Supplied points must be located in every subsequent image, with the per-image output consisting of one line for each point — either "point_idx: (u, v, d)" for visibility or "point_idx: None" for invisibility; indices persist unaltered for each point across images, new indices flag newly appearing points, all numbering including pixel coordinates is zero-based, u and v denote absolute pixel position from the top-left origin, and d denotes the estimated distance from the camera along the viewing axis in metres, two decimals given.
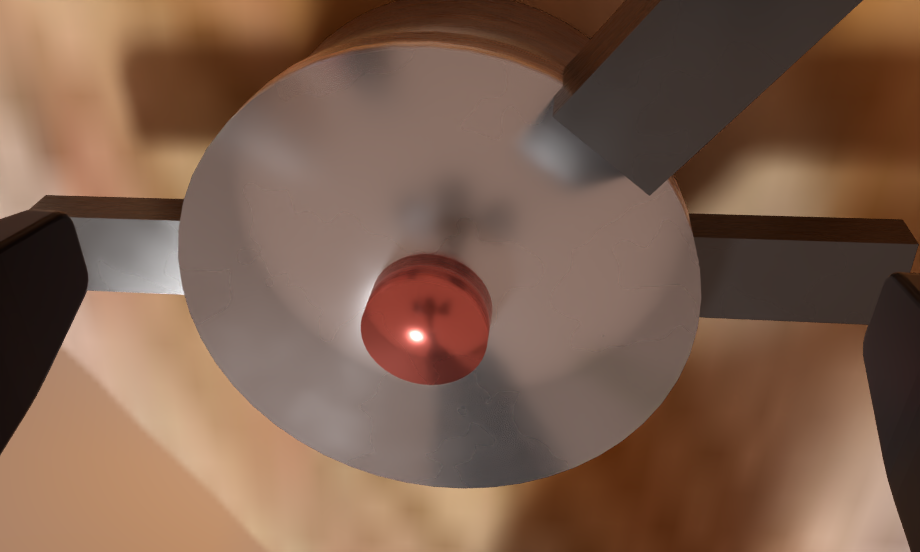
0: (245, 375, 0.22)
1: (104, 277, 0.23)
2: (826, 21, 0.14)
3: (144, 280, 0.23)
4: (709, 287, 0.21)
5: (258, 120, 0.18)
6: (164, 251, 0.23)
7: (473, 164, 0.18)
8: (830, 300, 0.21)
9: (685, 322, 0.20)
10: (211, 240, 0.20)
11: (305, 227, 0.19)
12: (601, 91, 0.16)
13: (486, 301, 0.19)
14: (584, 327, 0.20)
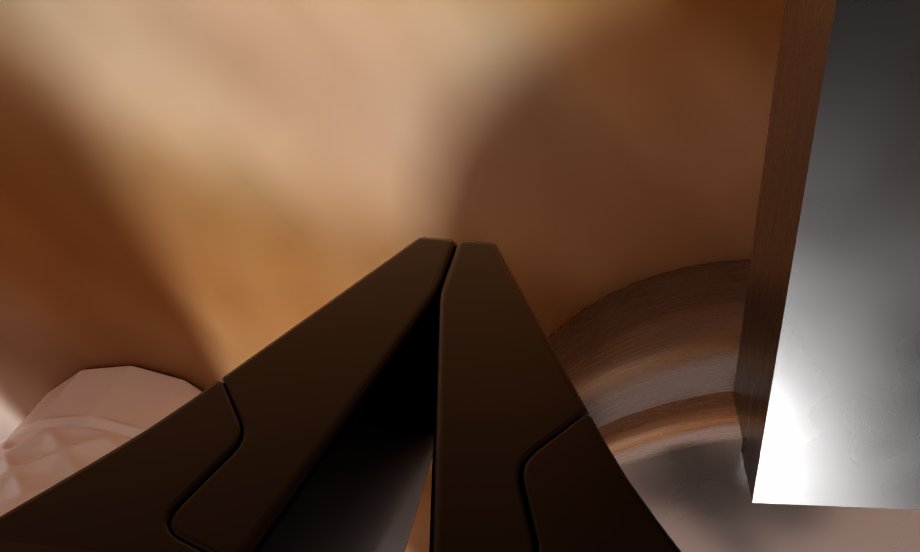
0: None
1: None
2: None
3: None
4: None
5: None
6: None
7: (710, 542, 0.15)
8: None
9: None
10: None
11: None
12: (784, 457, 0.12)
13: None
14: None
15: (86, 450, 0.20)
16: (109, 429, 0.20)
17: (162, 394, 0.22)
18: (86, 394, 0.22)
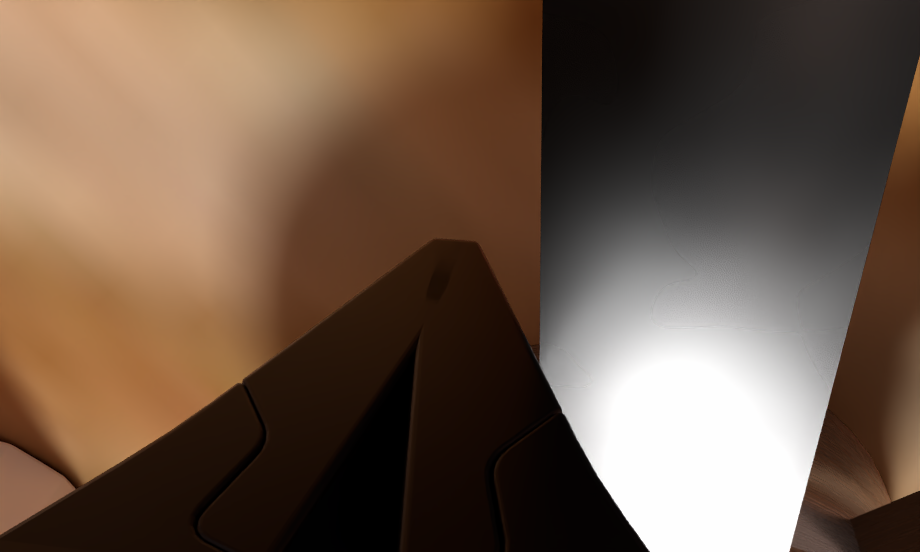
0: None
1: None
2: (802, 426, 0.08)
3: None
4: None
5: None
6: None
7: None
8: None
9: None
10: None
11: None
12: None
13: None
14: None
15: None
16: None
17: None
18: None
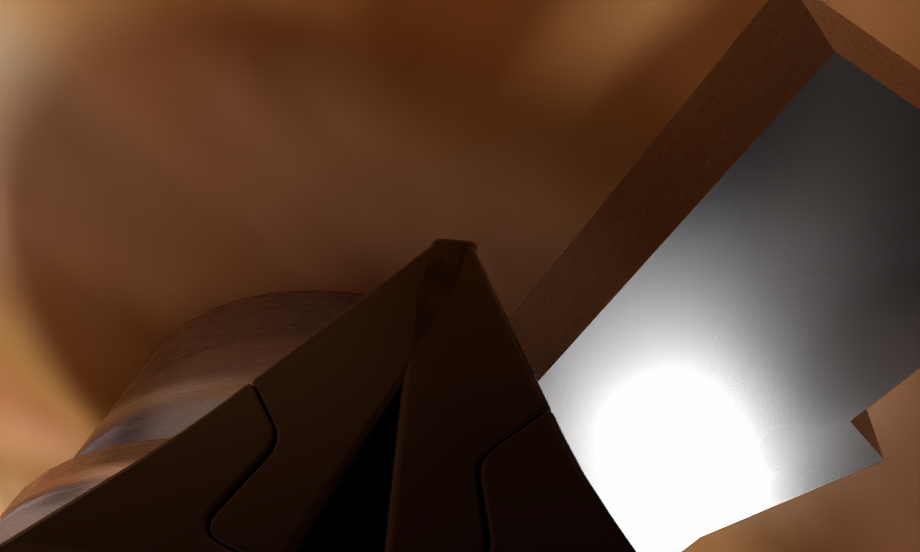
0: None
1: None
2: (697, 523, 0.09)
3: None
4: None
5: None
6: None
7: None
8: None
9: None
10: None
11: None
12: None
13: None
14: None
15: None
16: None
17: None
18: None
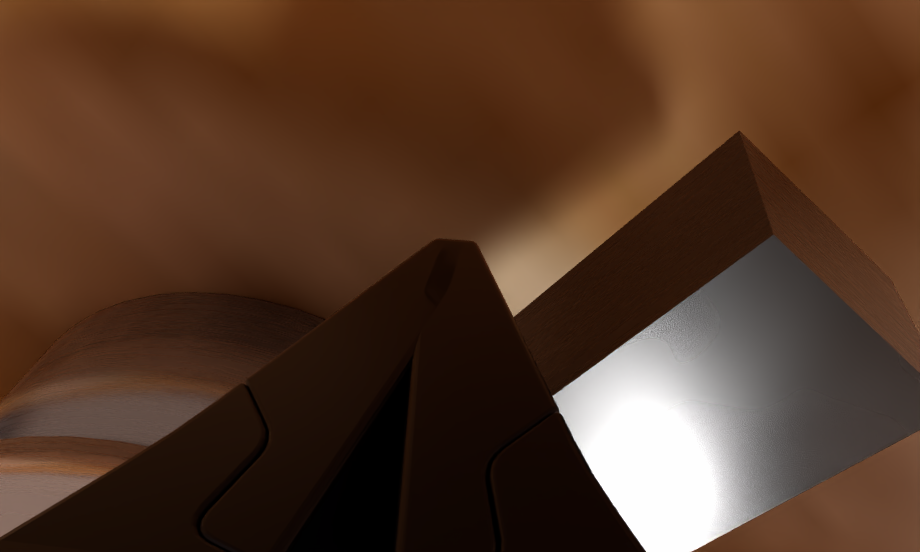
0: None
1: None
2: None
3: None
4: None
5: None
6: None
7: None
8: None
9: None
10: None
11: None
12: None
13: None
14: None
15: None
16: None
17: None
18: None
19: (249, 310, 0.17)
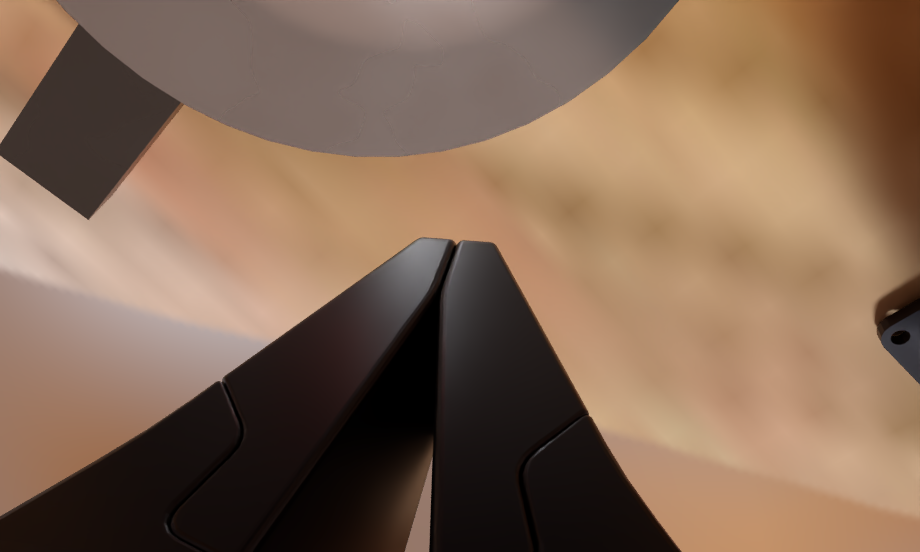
0: None
1: (108, 156, 0.18)
2: None
3: (137, 123, 0.18)
4: None
5: None
6: (116, 64, 0.17)
7: None
8: None
9: None
10: None
11: None
12: None
13: None
14: None
15: None
16: None
17: None
18: None
19: None
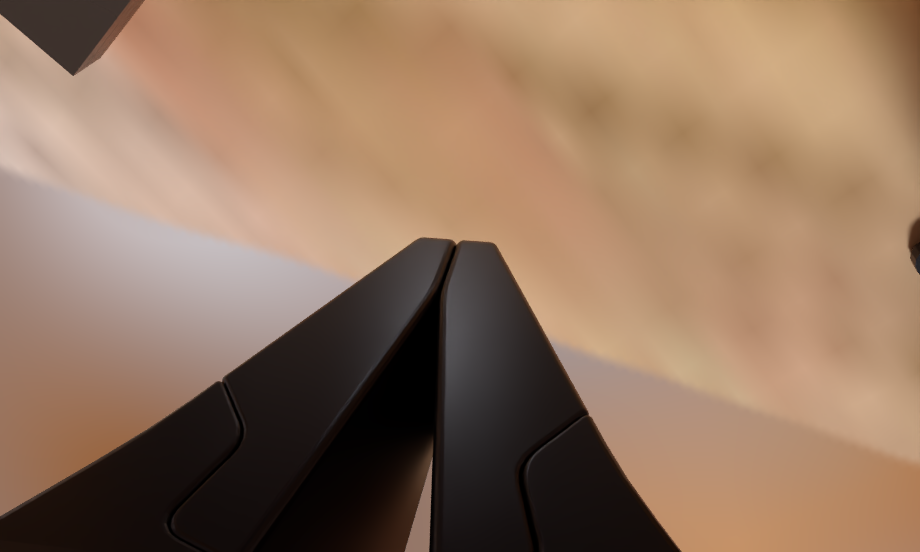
0: None
1: (98, 0, 0.17)
2: None
3: None
4: None
5: None
6: None
7: None
8: None
9: None
10: None
11: None
12: None
13: None
14: None
15: None
16: None
17: None
18: None
19: None
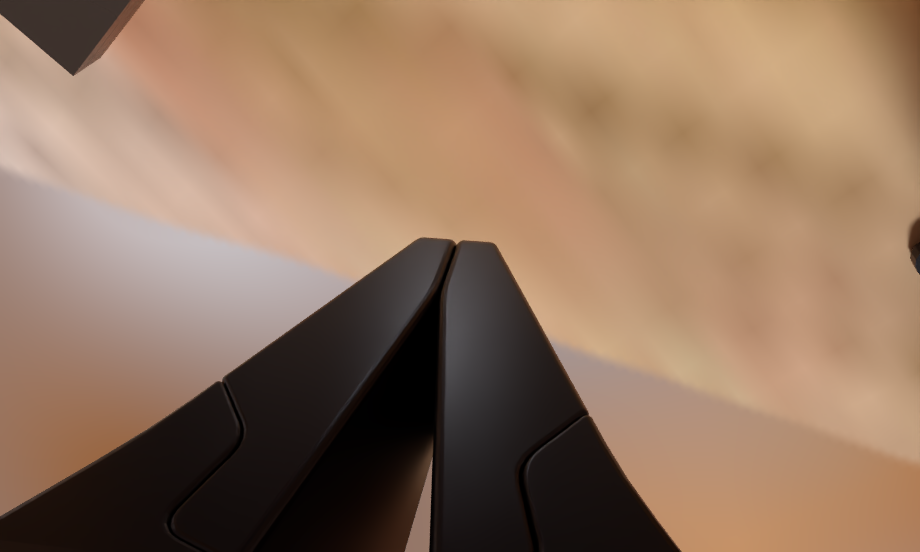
0: None
1: (98, 0, 0.17)
2: None
3: None
4: None
5: None
6: None
7: None
8: None
9: None
10: None
11: None
12: None
13: None
14: None
15: None
16: None
17: None
18: None
19: None
